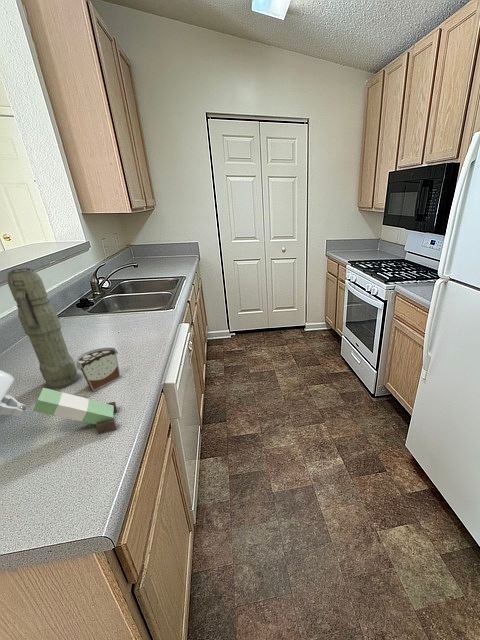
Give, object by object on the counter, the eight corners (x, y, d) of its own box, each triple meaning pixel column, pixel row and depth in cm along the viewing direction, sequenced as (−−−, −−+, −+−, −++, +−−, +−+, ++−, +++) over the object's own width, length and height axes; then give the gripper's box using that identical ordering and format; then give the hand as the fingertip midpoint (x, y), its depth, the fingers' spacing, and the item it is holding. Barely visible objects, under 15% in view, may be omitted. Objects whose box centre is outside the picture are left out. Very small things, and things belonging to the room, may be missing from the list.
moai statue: (42, 393, 99) (-8, 275, 84) (50, 376, 109) (7, 267, 93) (76, 386, 102) (34, 272, 87) (81, 370, 112) (44, 265, 97)
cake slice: (111, 371, 111) (103, 344, 107) (124, 375, 109) (116, 347, 104) (75, 389, 101) (65, 359, 97) (88, 393, 99) (78, 363, 94)
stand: (98, 434, 82) (95, 425, 81) (101, 412, 90) (98, 405, 89) (116, 429, 83) (114, 421, 82) (117, 408, 92) (115, 401, 90)
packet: (32, 411, 75) (37, 399, 75) (38, 398, 80) (43, 387, 80) (108, 427, 84) (113, 417, 84) (109, 414, 89) (113, 405, 89)
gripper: (-68, 397, 60) (19, 426, 68) (-26, 354, 77) (40, 381, 85) (-88, 423, 60) (1, 449, 68) (-41, 375, 77) (26, 400, 85)
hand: (23, 411), depth 77 cm, fingers closed
